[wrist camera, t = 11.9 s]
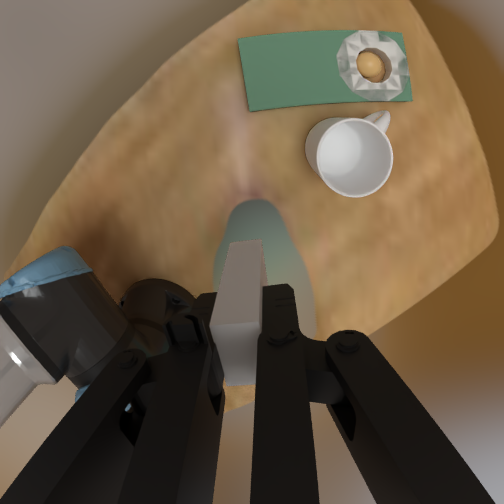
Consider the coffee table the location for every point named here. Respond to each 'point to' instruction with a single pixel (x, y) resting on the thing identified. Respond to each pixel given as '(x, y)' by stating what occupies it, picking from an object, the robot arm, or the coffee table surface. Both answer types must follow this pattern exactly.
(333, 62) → the putting strip
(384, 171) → the mug
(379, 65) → the ball
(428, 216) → the coffee table surface
